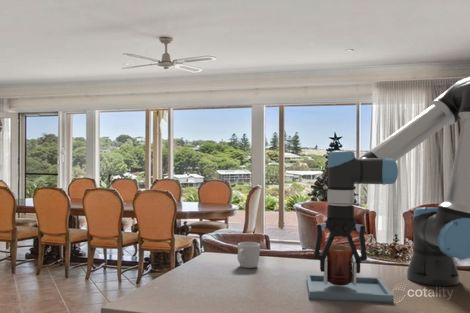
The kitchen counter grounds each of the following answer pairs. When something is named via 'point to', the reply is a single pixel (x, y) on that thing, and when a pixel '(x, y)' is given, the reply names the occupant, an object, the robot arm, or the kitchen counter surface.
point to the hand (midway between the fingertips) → (339, 283)
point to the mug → (339, 265)
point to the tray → (349, 290)
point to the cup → (248, 254)
